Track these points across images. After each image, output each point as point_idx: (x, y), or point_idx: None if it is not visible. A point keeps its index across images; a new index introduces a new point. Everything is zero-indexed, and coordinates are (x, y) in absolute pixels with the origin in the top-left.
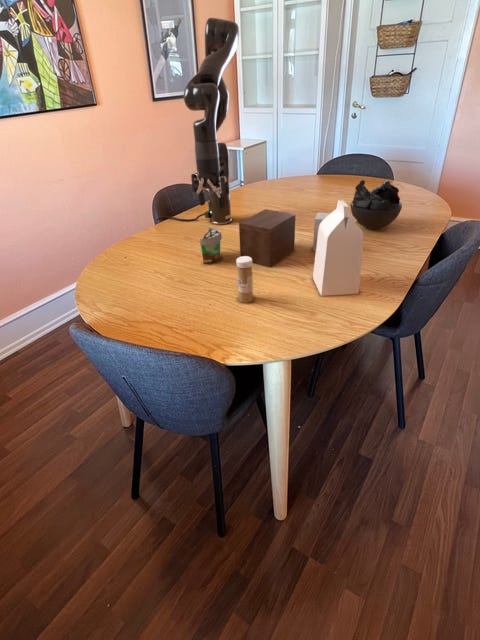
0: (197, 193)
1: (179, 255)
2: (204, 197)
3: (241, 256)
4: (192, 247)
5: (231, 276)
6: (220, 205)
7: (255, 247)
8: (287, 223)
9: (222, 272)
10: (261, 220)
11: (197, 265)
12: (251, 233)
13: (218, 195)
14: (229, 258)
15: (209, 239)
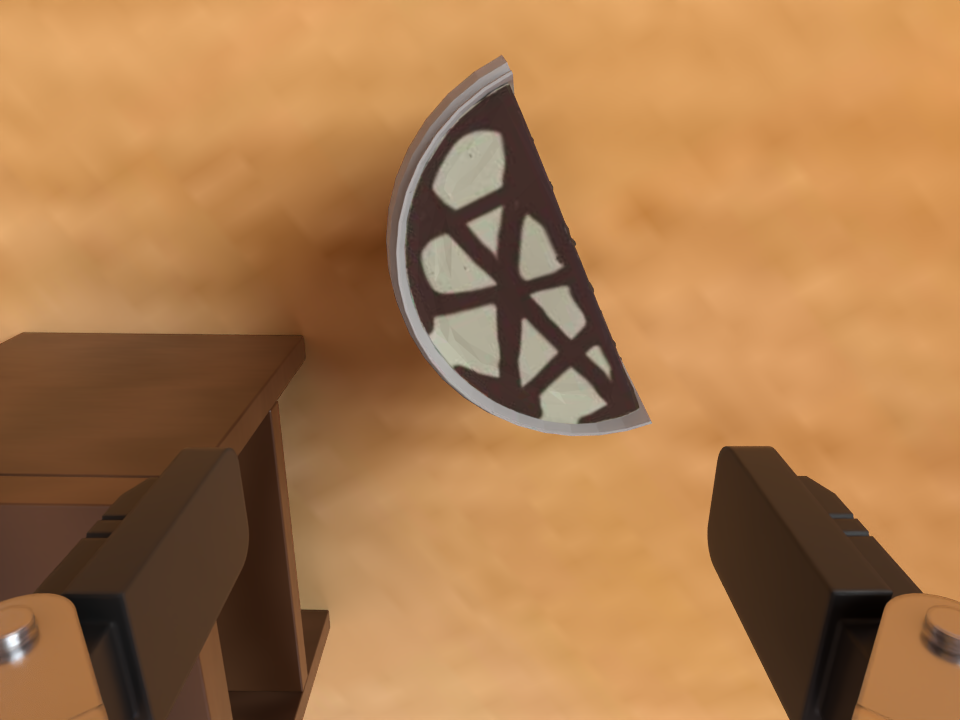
0: (942, 606)
1: (835, 136)
2: (756, 651)
3: (285, 344)
4: (818, 331)
5: (141, 31)
6: (165, 488)
7: (80, 387)
8: None
9: (259, 54)
10: None
11: (546, 49)
12: (42, 450)
13: (39, 644)
14: (394, 309)
15: (422, 153)
